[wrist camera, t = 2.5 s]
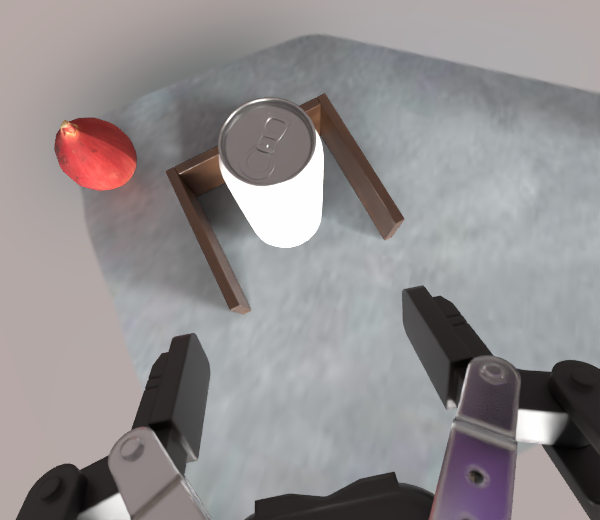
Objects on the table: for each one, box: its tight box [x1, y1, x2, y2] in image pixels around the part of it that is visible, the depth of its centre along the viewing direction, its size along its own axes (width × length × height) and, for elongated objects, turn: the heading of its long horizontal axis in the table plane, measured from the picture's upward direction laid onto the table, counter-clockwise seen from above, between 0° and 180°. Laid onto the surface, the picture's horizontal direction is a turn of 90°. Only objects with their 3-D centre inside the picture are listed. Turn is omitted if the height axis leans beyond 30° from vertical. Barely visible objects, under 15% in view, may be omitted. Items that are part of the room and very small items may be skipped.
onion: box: [55, 118, 137, 191], centre depth 29 cm, size 6×6×8 cm
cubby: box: [166, 94, 405, 314], centre depth 29 cm, size 15×13×4 cm
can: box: [218, 97, 323, 247], centre depth 25 cm, size 6×6×12 cm
